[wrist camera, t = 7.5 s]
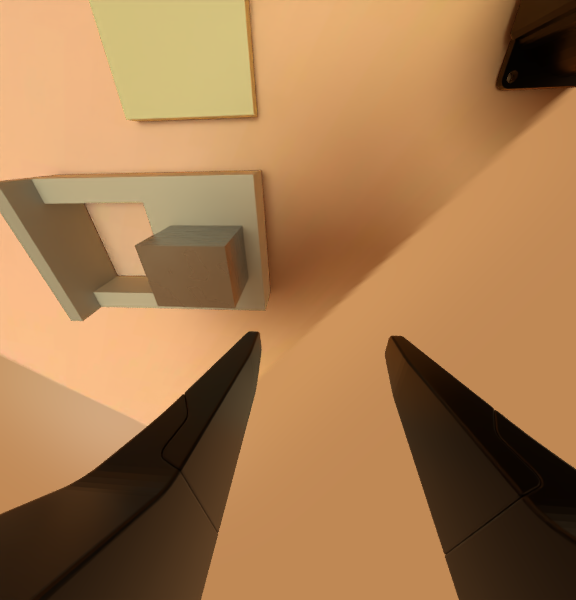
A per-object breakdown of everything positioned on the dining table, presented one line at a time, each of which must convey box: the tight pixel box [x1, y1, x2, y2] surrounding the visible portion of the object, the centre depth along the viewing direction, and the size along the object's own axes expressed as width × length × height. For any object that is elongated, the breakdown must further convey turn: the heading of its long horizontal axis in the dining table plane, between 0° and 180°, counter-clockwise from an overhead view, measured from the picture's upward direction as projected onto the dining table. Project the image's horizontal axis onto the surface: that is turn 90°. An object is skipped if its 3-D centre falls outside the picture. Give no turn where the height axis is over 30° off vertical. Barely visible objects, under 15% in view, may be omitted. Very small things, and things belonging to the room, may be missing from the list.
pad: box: [89, 0, 257, 121], centre depth 13 cm, size 8×8×1 cm
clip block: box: [135, 225, 249, 308], centre depth 15 cm, size 5×4×4 cm
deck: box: [0, 170, 270, 321], centre depth 18 cm, size 16×10×5 cm, turn 91°
